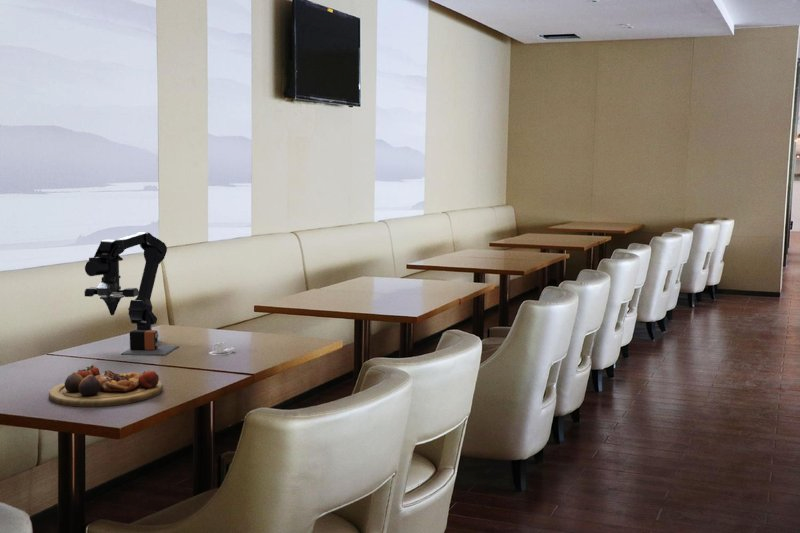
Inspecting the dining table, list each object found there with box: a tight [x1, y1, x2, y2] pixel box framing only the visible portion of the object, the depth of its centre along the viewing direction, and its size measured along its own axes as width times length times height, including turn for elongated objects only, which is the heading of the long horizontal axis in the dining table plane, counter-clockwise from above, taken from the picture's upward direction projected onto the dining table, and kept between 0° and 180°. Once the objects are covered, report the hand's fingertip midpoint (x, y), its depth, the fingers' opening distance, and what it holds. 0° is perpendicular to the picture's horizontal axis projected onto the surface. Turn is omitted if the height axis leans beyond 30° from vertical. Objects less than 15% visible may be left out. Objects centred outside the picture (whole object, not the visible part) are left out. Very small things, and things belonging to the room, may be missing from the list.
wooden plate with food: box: [48, 364, 164, 408], centre depth 264 cm, size 32×32×8 cm
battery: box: [129, 329, 160, 350], centre depth 327 cm, size 4×7×10 cm
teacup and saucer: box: [208, 341, 235, 356], centre depth 324 cm, size 9×8×4 cm
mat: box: [120, 344, 180, 357], centre depth 328 cm, size 16×16×1 cm
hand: (112, 315), depth 334 cm, fingers closed
